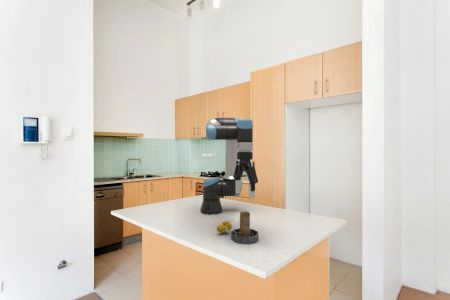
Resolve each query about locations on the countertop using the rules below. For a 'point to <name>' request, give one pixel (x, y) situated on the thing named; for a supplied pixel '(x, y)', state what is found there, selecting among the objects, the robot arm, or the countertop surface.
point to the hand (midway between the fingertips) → (244, 195)
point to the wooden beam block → (245, 223)
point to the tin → (245, 240)
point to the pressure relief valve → (225, 227)
